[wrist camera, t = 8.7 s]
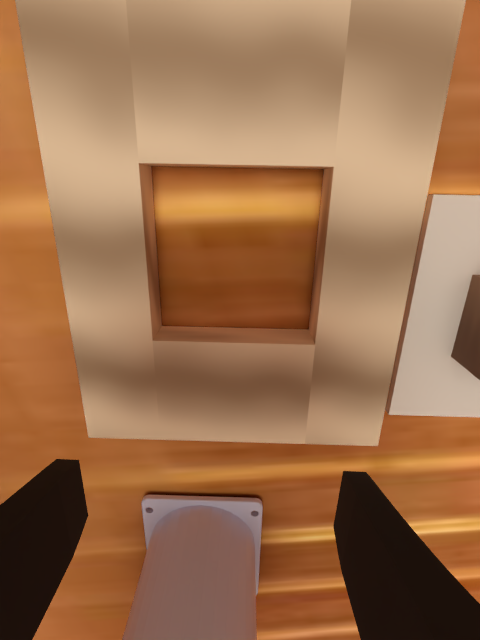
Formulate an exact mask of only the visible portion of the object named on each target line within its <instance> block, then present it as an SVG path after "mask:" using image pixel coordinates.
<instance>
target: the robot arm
mask: <svg viewBox="0 0 480 640" xmlns="http://www.w3.org/2000/svg"><path fill="white" fill-rule="evenodd" d="M149 507H150V508H149ZM262 510H263V505H262V501H261V500H260V499H258V498H242V497H210V496H179V495H146V496H144V497H143V500H142V513H143V522H144V531H145V540H146V549H147V553H146V556H145V560H144V563H143V567H142V571H141V574H140V578H139V581H138V585H137V589H136V592H135V596H134V599H133V603H132V606H131V610H130V614H129V617H128V621H127V624H126V628H125V632H124V635H123V639H122V640H257V631H256V595H257V594H258V582H259V564H260V546H261V528H262ZM254 511H255V512H254ZM87 517H88V512H87V506H86V500H85V494H84V488H83V482H82V476H81V470H80V464H79V460H65V459H56V460H55V461H54V462H52V463H51V464H50V465H49V466H47V467H46V468H45V469H44V470H42V471H41V472H40V473H39V474H38V475H36V476H35V477H34V478H33V479H32V480H30V481H29V482H28V483H27V484H26V485H24V486H23V487H22V488H21V489H19V490H18V491H17V492H16V493H15V494H13V495H12V496H11V497H10V498H9V499H7V500H6V501H5V502H4V503H2V504H1V505H0V640H32V639H33V637H34V635H35V633H36V631H37V629H38V627H39V625H40V623H41V621H42V619H43V617H44V615H45V613H46V611H47V609H48V607H49V605H50V603H51V601H52V599H53V597H54V595H55V593H56V591H57V588H58V586H59V584H60V582H61V580H62V578H63V576H64V574H65V572H66V570H67V568H68V566H69V564H70V562H71V560H72V558H73V555H74V552H75V550H76V547H77V545H78V542H79V539H80V537H81V534H82V531H83V528H84V525H85V523H86V520H87ZM334 532H335V537H336V543H337V549H338V555H339V560H340V565H341V570H342V574H343V577H344V581H345V585H346V588H347V592H348V595H349V599H350V603H351V606H352V610H353V613H354V617H355V620H356V624H357V627H358V631H359V634H360V638H361V640H480V604H479V603H478V602H477V601H476V600H475V599H474V598H473V597H472V596H471V595H470V593H469V592H468V591H467V590H466V589H465V588H464V587H463V586H462V585H461V584H460V583H459V582H458V581H457V579H456V578H455V577H454V576H453V575H452V574H451V573H450V572H449V571H448V570H447V569H446V567H445V566H444V565H443V564H442V563H441V562H440V561H439V560H438V558H437V557H436V556H435V555H434V554H433V553H432V552H431V550H430V549H429V548H428V547H427V546H426V545H425V543H424V542H423V541H422V540H421V539H420V538H419V536H418V535H417V534H416V533H415V532H414V531H413V529H412V528H411V527H410V526H409V525H408V523H407V522H406V521H405V520H404V519H403V517H402V516H401V515H400V514H399V512H398V511H397V510H396V509H395V507H394V506H393V505H392V504H391V502H390V501H389V500H388V499H387V497H386V496H385V495H384V494H383V492H382V491H381V490H380V489H379V487H378V486H377V485H376V484H375V482H374V481H373V480H372V479H371V477H370V476H369V475H368V474H367V473H366V472H351V471H343V476H342V482H341V487H340V493H339V498H338V504H337V510H336V515H335V521H334Z"/></svg>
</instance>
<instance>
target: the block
mask: <svg viewBox="0 0 480 640" xmlns="http://www.w3.org/2000/svg"><path fill="white" fill-rule="evenodd" d="M451 357H452V358H453V359H455V360H456V361H457V362H458V363H459V364H461V365H462V366H463V367H464V368H465V369H467V370H468V371H469V372H470V373H471V374H473V375H474V376H475V377H476V378H477V379H479V380H480V275H472V278H471V282H470V286H469V290H468V293H467V297H466V301H465V305H464V309H463V312H462V316H461V320H460V324H459V327H458V331H457V335H456V339H455V343H454V346H453V350H452V354H451Z"/></svg>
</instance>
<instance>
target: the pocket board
mask: <svg viewBox="0 0 480 640" xmlns="http://www.w3.org/2000/svg"><path fill="white" fill-rule="evenodd" d="M15 2H16V8H17V14H18V20H19V26H20V32H21V38H22V44H23V50H24V56H25V62H26V68H27V74H28V80H29V86H30V92H31V98H32V104H33V110H34V116H35V122H36V127H37V133H38V139H39V145H40V151H41V157H42V163H43V169H44V175H45V181H46V187H47V193H48V199H49V205H50V211H51V217H52V223H53V229H54V235H55V241H56V247H57V253H58V259H59V265H60V271H61V276H62V282H63V288H64V294H65V300H66V306H67V312H68V318H69V324H70V330H71V336H72V342H73V348H74V354H75V360H76V366H77V372H78V378H79V384H80V390H81V396H82V402H83V408H84V414H85V419H86V425H87V431H88V437H89V438H119V439H153V440H188V441H222V442H256V443H290V444H324V445H358V446H378V442H379V437H380V432H381V427H382V422H383V417H384V412H385V407H386V402H387V397H388V392H389V387H390V382H391V377H392V372H393V366H394V361H395V356H396V351H397V346H398V341H399V336H400V331H401V326H402V321H403V316H404V311H405V306H406V301H407V296H408V291H409V285H410V280H411V275H412V270H413V265H414V260H415V255H416V250H417V245H418V240H419V235H420V230H421V225H422V220H423V215H424V209H425V204H426V199H427V194H428V189H429V184H430V179H431V174H432V169H433V164H434V159H435V154H436V149H437V144H438V139H439V134H440V128H441V123H442V118H443V113H444V108H445V103H446V98H447V93H448V88H449V83H450V78H451V73H452V68H453V63H454V58H455V53H456V47H457V42H458V37H459V32H460V27H461V22H462V17H463V12H464V7H465V2H466V0H15ZM151 166H176V167H229V168H283V169H324V173H323V183H322V194H321V204H320V215H319V225H318V236H317V246H316V257H315V267H314V278H313V288H312V299H311V309H310V319H309V329H270V328H230V327H189V326H162V319H161V304H160V289H159V274H158V259H157V244H156V229H155V214H154V199H153V184H152V169H151Z"/></svg>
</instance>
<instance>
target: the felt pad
mask: <svg viewBox="0 0 480 640" xmlns="http://www.w3.org/2000/svg"><path fill="white" fill-rule="evenodd" d="M472 275H480V195H433V194H428V198H427V203H426V208H425V213H424V218H423V223H422V228H421V234H420V239H419V244H418V249H417V254H416V259H415V264H414V269H413V274H412V279H411V284H410V289H409V294H408V299H407V304H406V309H405V314H404V319H403V324H402V329H401V334H400V339H399V345H398V350H397V355H396V360H395V365H394V370H393V375H392V380H391V385H390V390H389V395H388V400H387V405H386V411H387V413H388V414H389V415H417V416H453V417H480V380H479V379H477V378H476V377H475V376H474V375H473V374H471V373H470V372H469V371H468V370H467V369H465V368H464V367H463V366H462V365H461V364H459V363H458V362H457V361H456V360H455V359H453V358H452V357H451V354H452V350H453V346H454V343H455V339H456V335H457V331H458V327H459V324H460V320H461V316H462V312H463V309H464V305H465V301H466V297H467V293H468V290H469V286H470V282H471V278H472Z"/></svg>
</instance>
